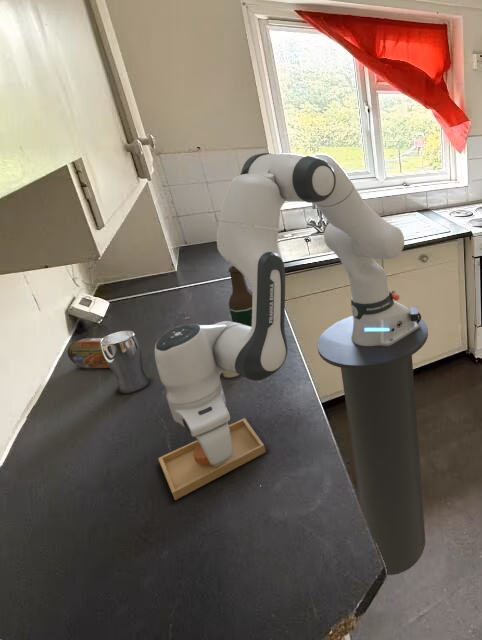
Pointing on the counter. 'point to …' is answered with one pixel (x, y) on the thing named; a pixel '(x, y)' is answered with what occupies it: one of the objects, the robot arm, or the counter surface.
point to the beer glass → (125, 360)
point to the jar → (229, 374)
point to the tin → (87, 353)
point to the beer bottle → (240, 299)
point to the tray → (192, 475)
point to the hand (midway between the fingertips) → (213, 454)
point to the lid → (200, 455)
